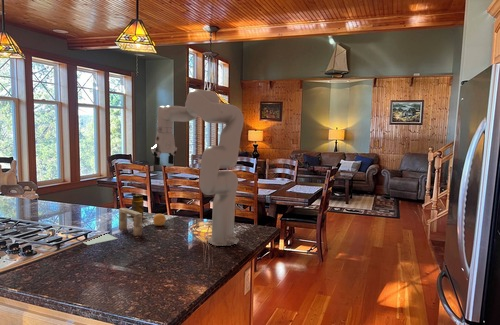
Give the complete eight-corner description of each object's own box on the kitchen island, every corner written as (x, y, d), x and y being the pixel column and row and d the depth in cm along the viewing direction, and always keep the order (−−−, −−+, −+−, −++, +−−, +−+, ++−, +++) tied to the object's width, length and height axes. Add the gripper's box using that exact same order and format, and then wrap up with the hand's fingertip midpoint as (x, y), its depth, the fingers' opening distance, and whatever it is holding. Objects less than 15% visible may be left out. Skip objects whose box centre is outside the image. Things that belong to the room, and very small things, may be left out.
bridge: (124, 227, 171) (124, 207, 170) (141, 234, 161) (142, 213, 160) (118, 228, 169) (119, 208, 168) (135, 235, 159) (136, 214, 158)
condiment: (146, 217, 192) (146, 195, 191) (131, 219, 186) (131, 197, 185) (139, 214, 197) (140, 193, 196) (125, 216, 191) (125, 194, 190)
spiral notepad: (117, 238, 154) (117, 238, 154) (87, 245, 144) (87, 244, 144) (103, 232, 162) (103, 231, 162) (74, 237, 153) (74, 237, 153)
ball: (168, 225, 177) (168, 214, 177) (157, 227, 173) (157, 215, 172) (161, 223, 181) (161, 211, 181) (150, 225, 177) (151, 213, 176)
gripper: (157, 130, 171) (156, 166, 172) (182, 131, 185) (181, 164, 187) (146, 130, 175) (145, 164, 176) (171, 130, 189) (170, 162, 191)
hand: (164, 164), depth 182 cm, fingers open, 9 cm apart
